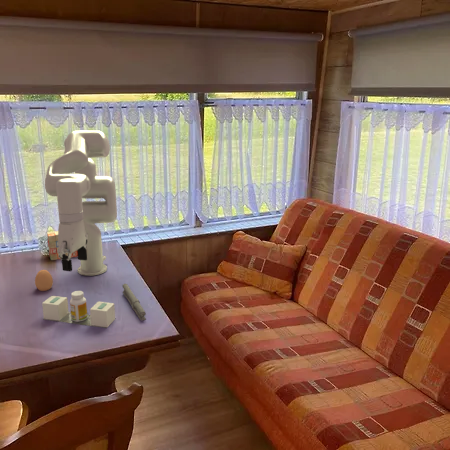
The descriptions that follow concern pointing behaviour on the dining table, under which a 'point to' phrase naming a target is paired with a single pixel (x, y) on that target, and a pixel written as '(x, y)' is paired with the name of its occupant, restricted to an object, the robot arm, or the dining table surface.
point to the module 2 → (102, 314)
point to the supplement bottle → (78, 306)
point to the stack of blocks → (56, 246)
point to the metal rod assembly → (134, 302)
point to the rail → (68, 320)
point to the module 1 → (55, 308)
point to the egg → (43, 280)
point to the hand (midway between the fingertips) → (75, 265)
